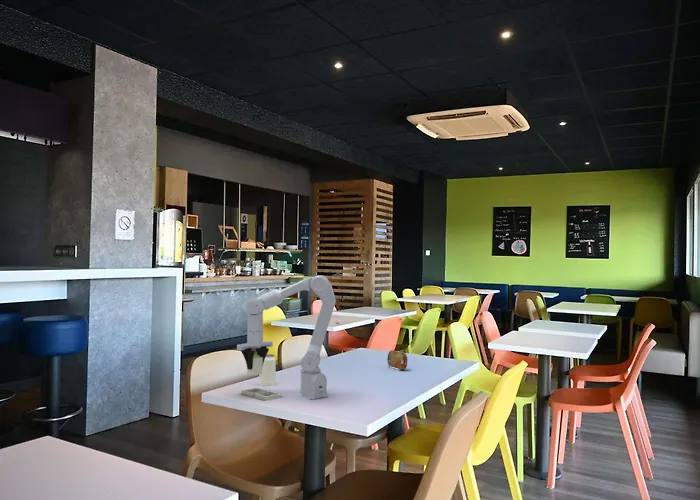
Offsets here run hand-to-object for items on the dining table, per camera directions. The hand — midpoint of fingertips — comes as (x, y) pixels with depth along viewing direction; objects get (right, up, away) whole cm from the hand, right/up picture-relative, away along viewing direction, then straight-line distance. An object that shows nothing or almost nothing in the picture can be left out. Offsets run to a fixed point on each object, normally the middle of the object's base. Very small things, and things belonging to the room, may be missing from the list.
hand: (254, 368), depth 200 cm
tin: (+57, -13, +57) cm, 82 cm away
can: (+2, -11, +17) cm, 20 cm away
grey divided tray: (+3, -10, -3) cm, 11 cm away
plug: (0, -2, 0) cm, 2 cm away
